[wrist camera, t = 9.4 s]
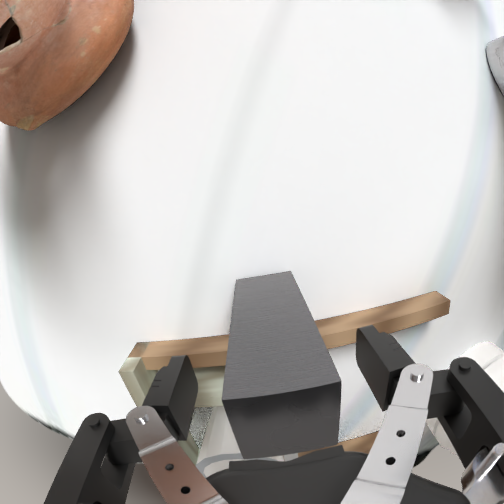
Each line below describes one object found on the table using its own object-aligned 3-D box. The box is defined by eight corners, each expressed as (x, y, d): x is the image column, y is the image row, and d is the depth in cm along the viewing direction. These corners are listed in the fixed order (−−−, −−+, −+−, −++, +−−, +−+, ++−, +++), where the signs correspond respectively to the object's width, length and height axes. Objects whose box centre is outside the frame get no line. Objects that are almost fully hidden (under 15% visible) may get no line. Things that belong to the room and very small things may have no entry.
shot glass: (207, 434, 22) (199, 489, 16) (201, 387, 21) (188, 450, 14) (276, 435, 22) (282, 491, 16) (283, 389, 21) (293, 453, 14)
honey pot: (498, 320, 20) (594, 397, 3) (493, 382, 23) (555, 452, 6) (416, 387, 22) (497, 510, 4) (424, 436, 24) (474, 526, 7)
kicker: (290, 270, 18) (341, 380, 7) (306, 444, 22) (324, 532, 12) (236, 279, 18) (221, 399, 7) (272, 450, 23) (279, 539, 12)
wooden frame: (435, 290, 19) (463, 309, 15) (407, 425, 23) (419, 447, 19) (137, 342, 20) (118, 371, 16) (197, 463, 24) (193, 489, 20)
